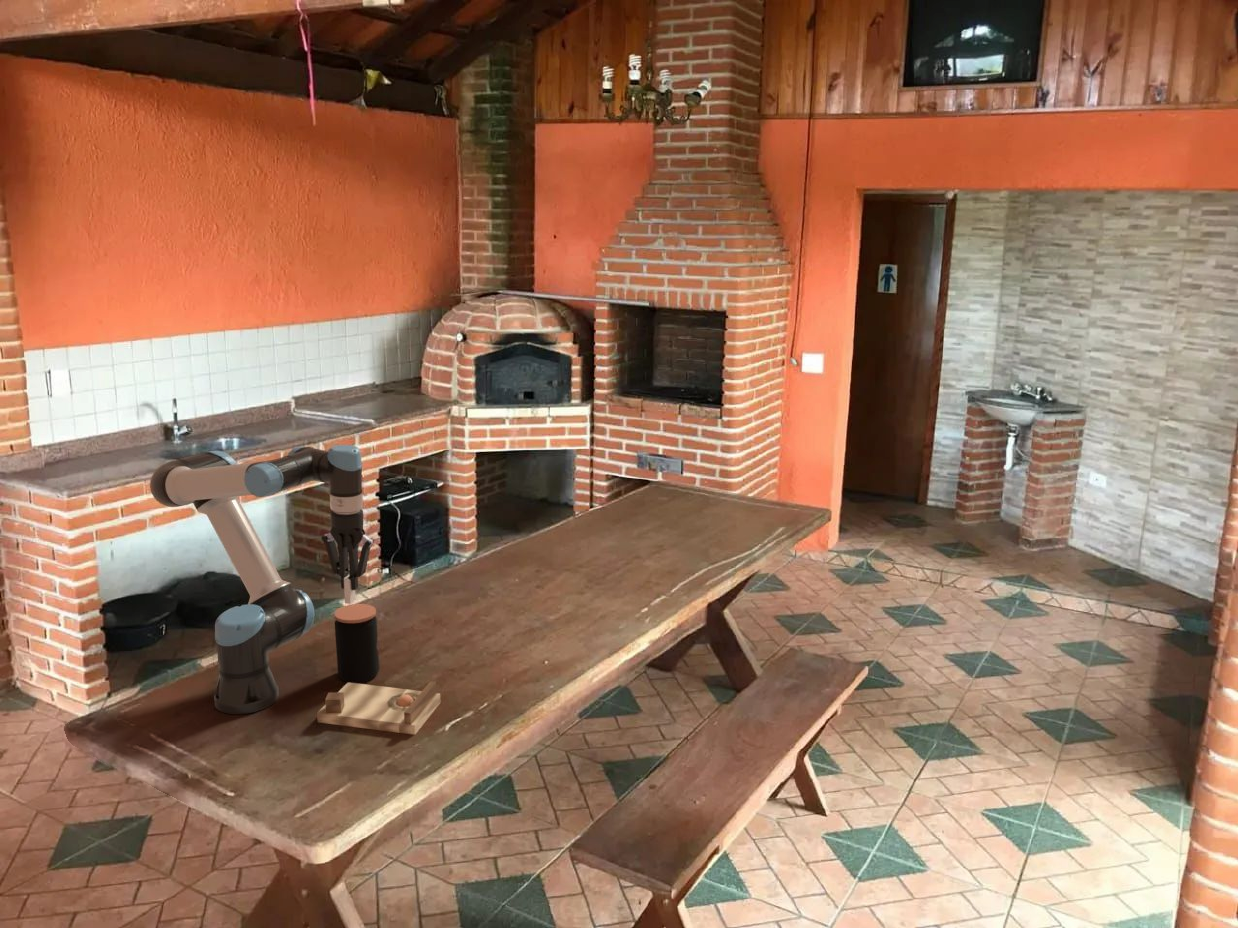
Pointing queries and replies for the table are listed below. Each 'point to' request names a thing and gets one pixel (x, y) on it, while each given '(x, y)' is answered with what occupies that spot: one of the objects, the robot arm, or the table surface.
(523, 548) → the table surface
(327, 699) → the walnut cube
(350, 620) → the coffee jar
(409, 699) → the ball
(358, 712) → the board
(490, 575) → the table surface
